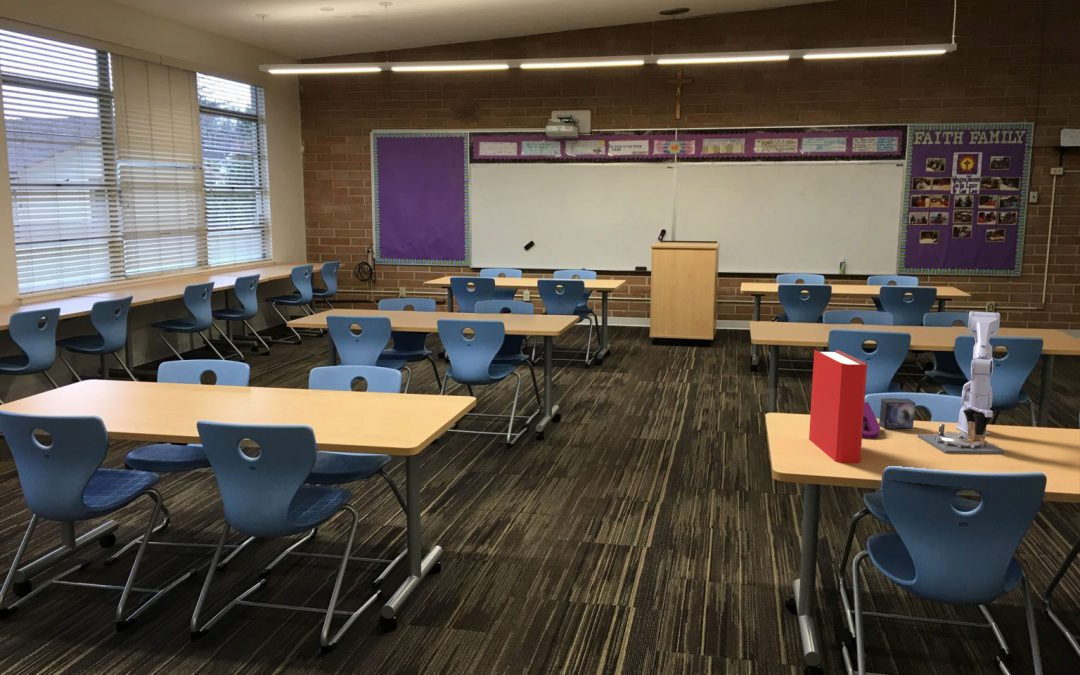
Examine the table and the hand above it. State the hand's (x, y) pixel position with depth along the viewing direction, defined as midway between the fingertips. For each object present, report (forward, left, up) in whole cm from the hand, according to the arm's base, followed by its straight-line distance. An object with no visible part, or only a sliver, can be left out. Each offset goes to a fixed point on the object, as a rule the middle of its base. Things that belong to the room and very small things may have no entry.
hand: (975, 432), depth 290 cm
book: (+5, -50, -5) cm, 51 cm away
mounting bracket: (-19, -32, -6) cm, 37 cm away
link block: (0, 0, -2) cm, 2 cm away
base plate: (-2, -4, -5) cm, 7 cm away
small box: (-25, -16, -5) cm, 30 cm away
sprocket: (-2, -4, -4) cm, 6 cm away
